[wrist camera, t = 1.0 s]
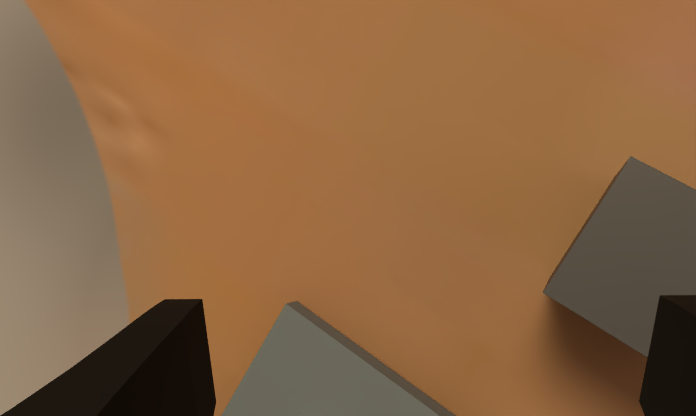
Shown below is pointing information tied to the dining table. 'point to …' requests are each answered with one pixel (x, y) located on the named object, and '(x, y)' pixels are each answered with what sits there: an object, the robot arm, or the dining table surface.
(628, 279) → the plug
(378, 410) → the socket
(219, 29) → the dining table surface
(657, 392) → the robot arm
